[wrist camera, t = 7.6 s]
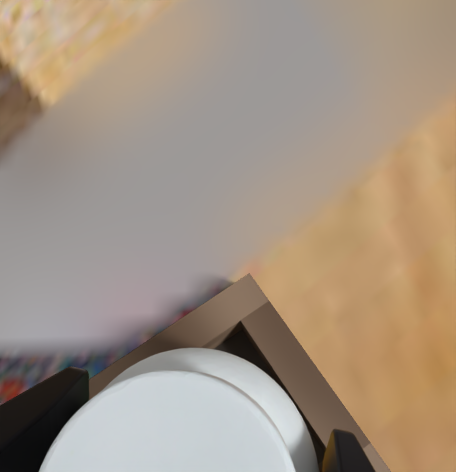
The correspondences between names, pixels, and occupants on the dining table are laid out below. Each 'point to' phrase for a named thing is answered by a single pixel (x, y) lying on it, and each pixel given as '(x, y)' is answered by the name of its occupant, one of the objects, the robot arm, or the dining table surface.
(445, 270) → the dining table surface
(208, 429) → the supplement bottle
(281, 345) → the socket block
